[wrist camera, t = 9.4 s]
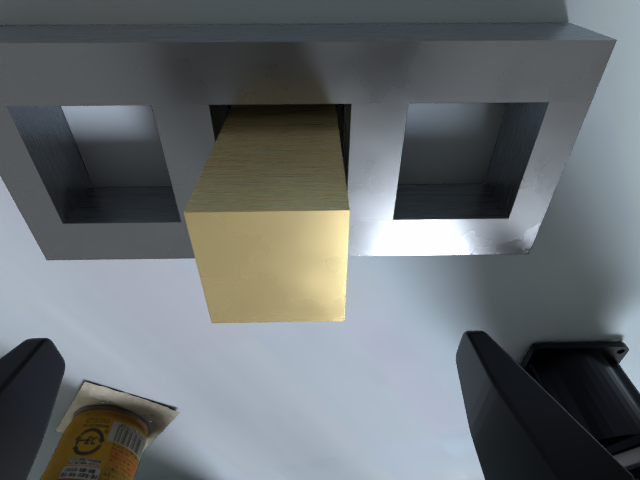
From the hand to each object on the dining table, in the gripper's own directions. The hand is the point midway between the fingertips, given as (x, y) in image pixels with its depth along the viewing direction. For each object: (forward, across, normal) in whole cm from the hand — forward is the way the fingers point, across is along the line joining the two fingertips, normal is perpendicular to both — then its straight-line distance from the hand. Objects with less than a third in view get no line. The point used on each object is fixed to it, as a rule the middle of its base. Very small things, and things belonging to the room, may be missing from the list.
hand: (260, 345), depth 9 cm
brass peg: (+12, 0, 0) cm, 12 cm away
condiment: (+12, +15, +24) cm, 31 cm away
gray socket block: (+12, 0, 0) cm, 12 cm away
